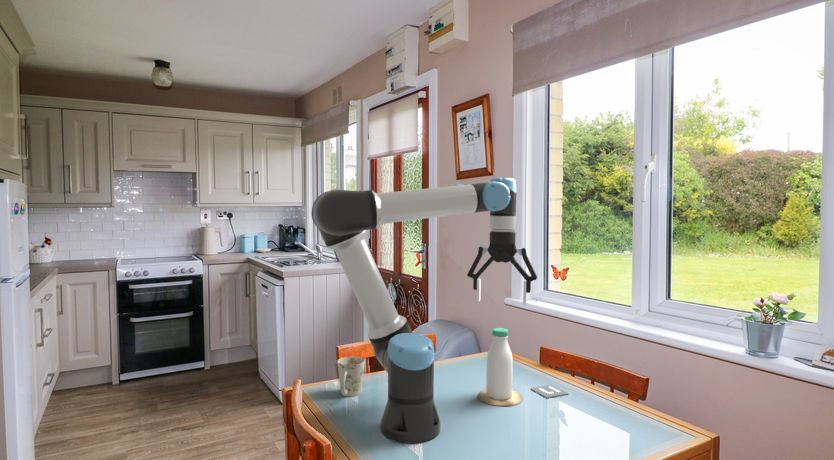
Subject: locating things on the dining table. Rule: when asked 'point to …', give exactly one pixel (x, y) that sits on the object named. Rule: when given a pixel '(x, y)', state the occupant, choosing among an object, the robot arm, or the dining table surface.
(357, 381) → the mug
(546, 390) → the tile
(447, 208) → the robot arm
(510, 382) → the milk bottle
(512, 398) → the round flatbread
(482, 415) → the dining table surface
